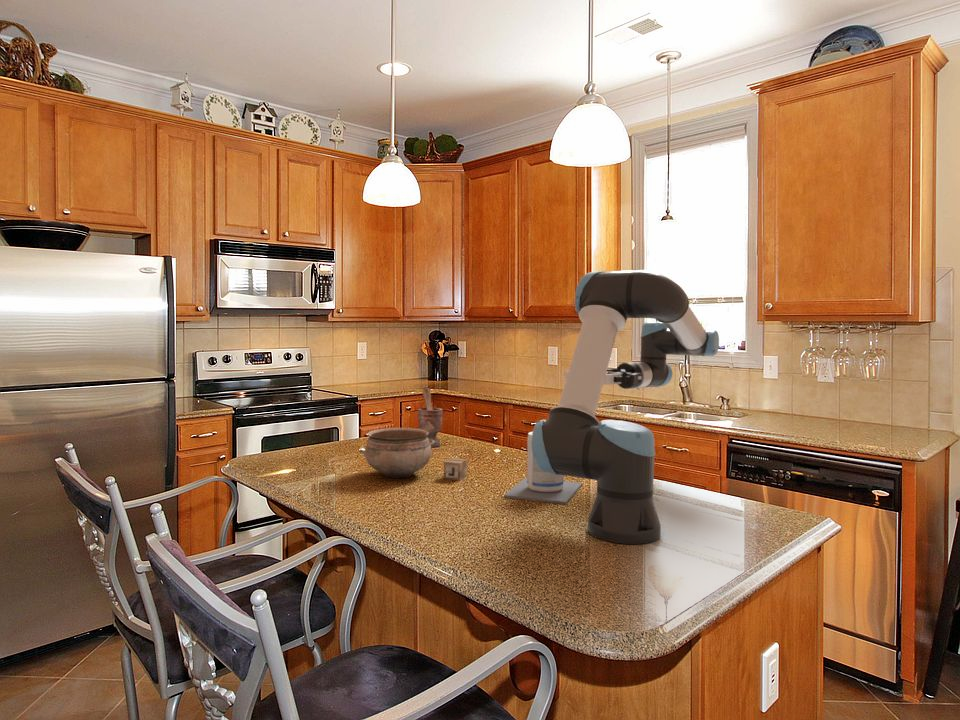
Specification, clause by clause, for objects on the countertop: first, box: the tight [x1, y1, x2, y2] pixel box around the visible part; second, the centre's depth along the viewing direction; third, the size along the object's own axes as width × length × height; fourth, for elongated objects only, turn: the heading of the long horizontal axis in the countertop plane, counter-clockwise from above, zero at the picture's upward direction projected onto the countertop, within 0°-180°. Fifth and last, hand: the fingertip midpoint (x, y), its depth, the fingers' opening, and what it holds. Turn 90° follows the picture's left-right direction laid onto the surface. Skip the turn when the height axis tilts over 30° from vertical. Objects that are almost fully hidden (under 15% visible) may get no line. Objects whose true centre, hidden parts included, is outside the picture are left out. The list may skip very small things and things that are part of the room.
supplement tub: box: [526, 431, 565, 492], centre depth 170 cm, size 10×10×15 cm
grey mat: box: [503, 476, 583, 505], centre depth 171 cm, size 20×16×1 cm
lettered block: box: [443, 457, 468, 481], centre depth 184 cm, size 6×5×5 cm
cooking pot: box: [358, 427, 435, 479], centre depth 185 cm, size 25×19×12 cm
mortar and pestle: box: [417, 387, 443, 448], centre depth 230 cm, size 12×9×20 cm
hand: (584, 377), depth 175 cm, fingers open, 13 cm apart
